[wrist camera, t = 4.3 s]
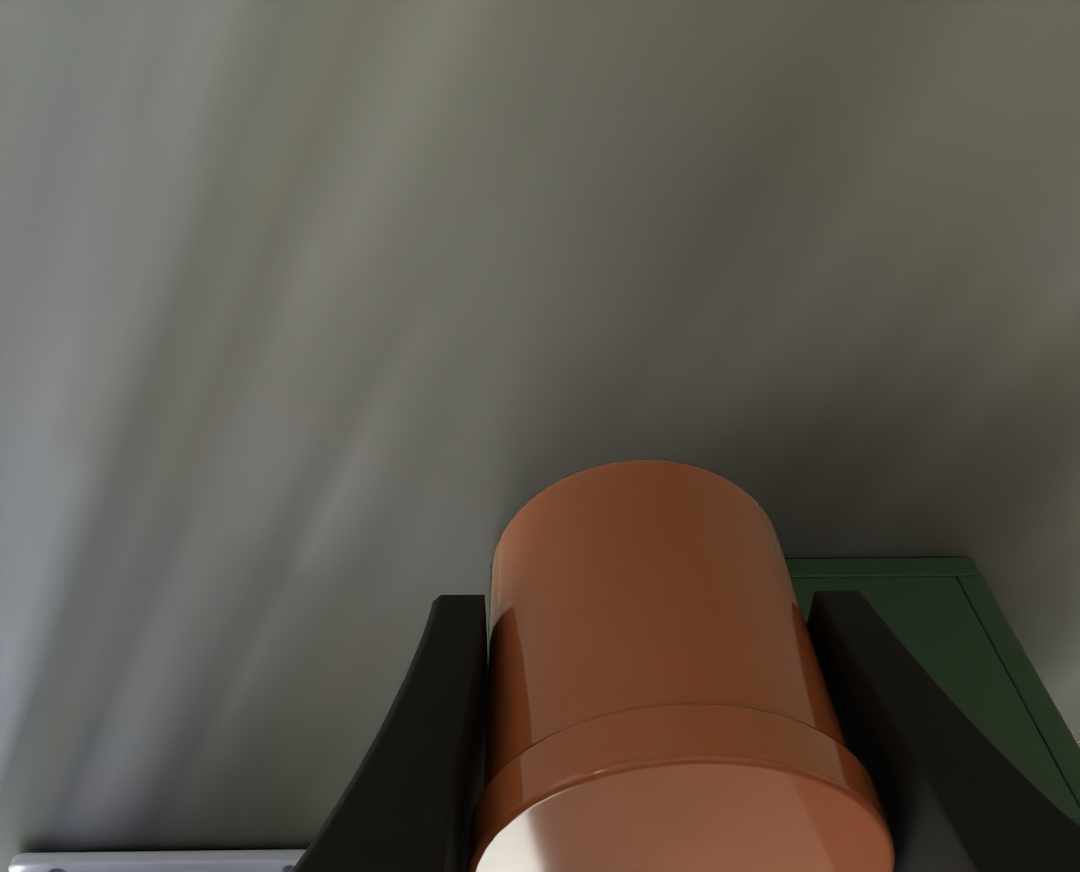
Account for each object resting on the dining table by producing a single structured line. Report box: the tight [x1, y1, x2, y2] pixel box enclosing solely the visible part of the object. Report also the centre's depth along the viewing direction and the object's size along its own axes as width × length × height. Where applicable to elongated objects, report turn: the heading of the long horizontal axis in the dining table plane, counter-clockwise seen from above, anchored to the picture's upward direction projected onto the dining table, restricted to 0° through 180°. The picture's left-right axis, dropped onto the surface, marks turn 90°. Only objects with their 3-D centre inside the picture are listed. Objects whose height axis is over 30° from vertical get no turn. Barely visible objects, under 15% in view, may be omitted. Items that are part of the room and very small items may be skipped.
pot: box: [467, 460, 895, 872], centre depth 12 cm, size 5×5×5 cm
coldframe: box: [487, 557, 1080, 827], centre depth 22 cm, size 13×11×7 cm
